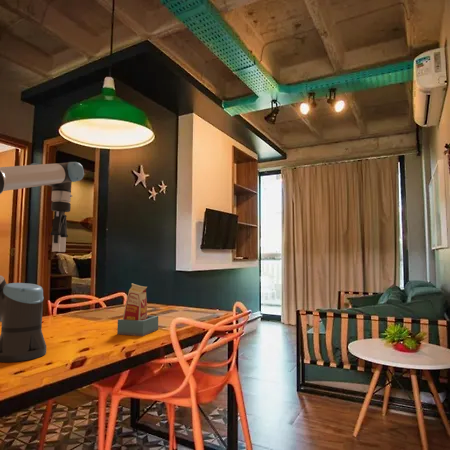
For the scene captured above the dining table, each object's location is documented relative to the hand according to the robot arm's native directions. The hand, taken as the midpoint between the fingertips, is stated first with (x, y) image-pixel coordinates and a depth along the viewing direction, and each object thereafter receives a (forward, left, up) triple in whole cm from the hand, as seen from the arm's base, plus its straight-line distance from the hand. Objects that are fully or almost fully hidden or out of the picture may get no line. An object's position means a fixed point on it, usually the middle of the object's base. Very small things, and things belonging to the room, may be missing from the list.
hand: (58, 251), depth 149 cm
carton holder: (-1, -33, -35) cm, 48 cm away
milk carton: (-1, -33, -34) cm, 47 cm away
